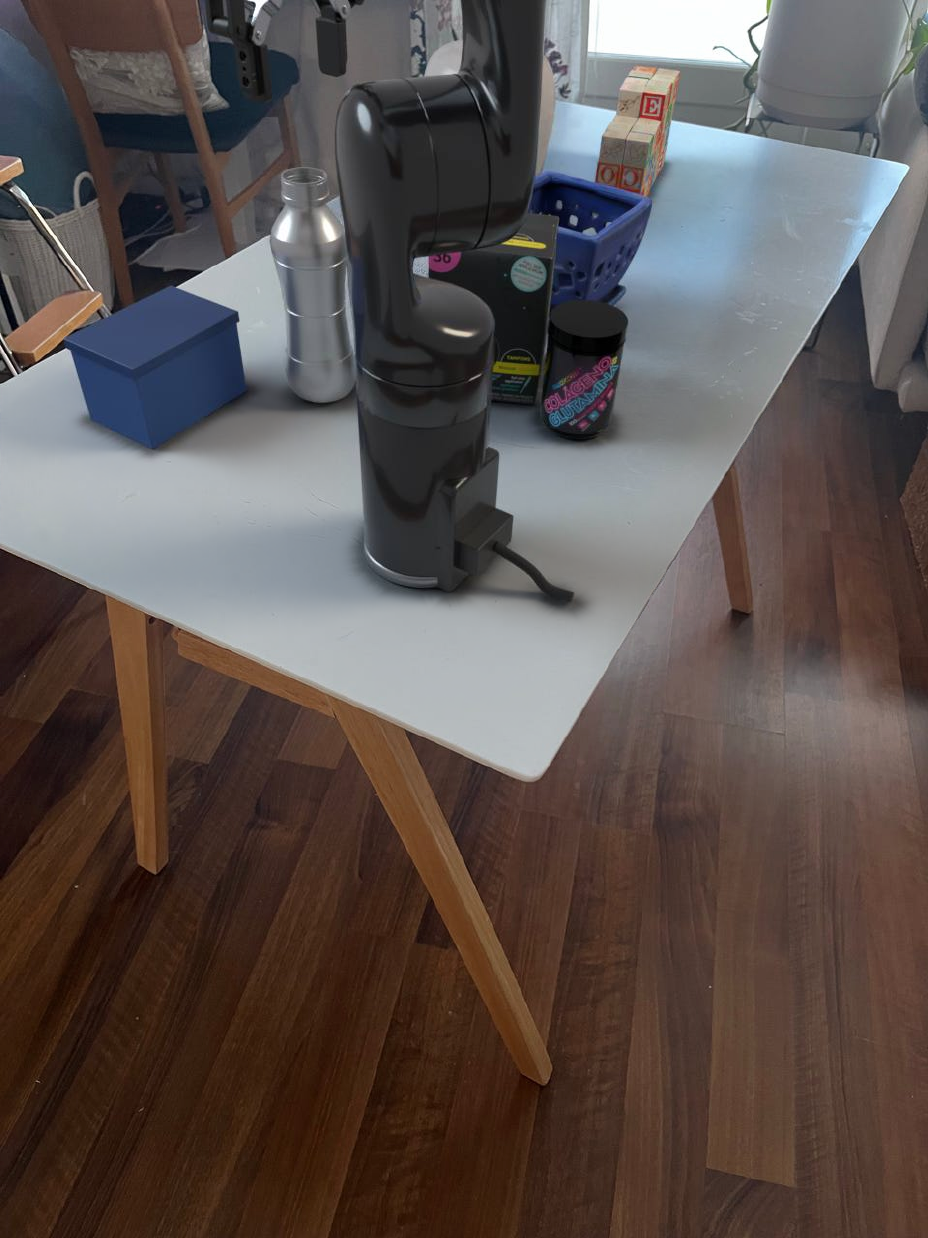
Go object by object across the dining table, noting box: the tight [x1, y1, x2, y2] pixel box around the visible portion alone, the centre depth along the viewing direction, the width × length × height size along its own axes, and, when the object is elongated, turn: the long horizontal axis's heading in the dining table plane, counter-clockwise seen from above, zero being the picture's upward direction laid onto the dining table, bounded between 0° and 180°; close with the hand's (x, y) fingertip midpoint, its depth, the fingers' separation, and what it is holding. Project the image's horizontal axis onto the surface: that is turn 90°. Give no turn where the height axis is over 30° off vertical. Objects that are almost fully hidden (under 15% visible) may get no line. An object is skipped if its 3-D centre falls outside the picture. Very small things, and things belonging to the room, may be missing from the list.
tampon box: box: [427, 213, 559, 406], centre depth 87 cm, size 11×9×15 cm
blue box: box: [63, 285, 248, 450], centre depth 84 cm, size 8×12×8 cm
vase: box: [423, 10, 557, 176], centre depth 111 cm, size 16×16×23 cm
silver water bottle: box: [269, 166, 356, 403], centre depth 82 cm, size 6×7×20 cm
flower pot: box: [528, 170, 653, 332], centre depth 98 cm, size 13×13×12 cm
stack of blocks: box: [594, 65, 681, 197], centre depth 125 cm, size 21×6×12 cm, turn 162°
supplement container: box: [539, 300, 629, 441], centre depth 83 cm, size 7×7×10 cm
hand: (297, 86), depth 70 cm, fingers open, 8 cm apart
